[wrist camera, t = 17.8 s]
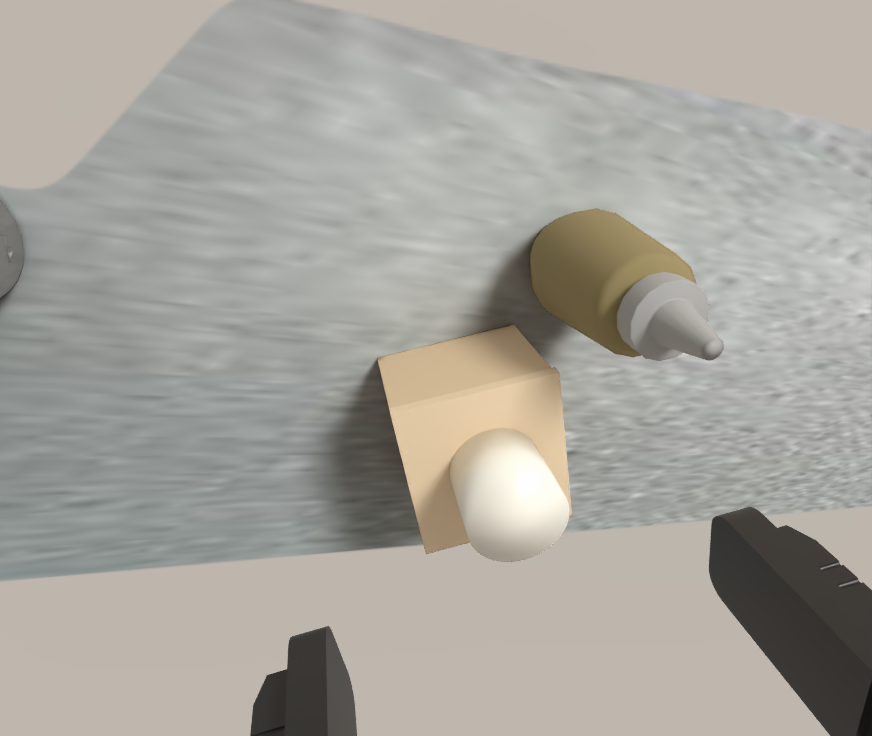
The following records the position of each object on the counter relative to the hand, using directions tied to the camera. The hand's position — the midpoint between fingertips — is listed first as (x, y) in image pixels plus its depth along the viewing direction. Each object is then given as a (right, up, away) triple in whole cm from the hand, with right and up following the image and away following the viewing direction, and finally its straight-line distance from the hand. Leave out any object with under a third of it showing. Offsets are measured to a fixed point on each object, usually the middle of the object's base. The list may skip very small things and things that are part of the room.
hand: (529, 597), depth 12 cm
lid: (+2, -2, +28) cm, 29 cm away
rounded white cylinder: (+2, -2, +28) cm, 28 cm away
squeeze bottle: (+8, +13, +32) cm, 35 cm away
